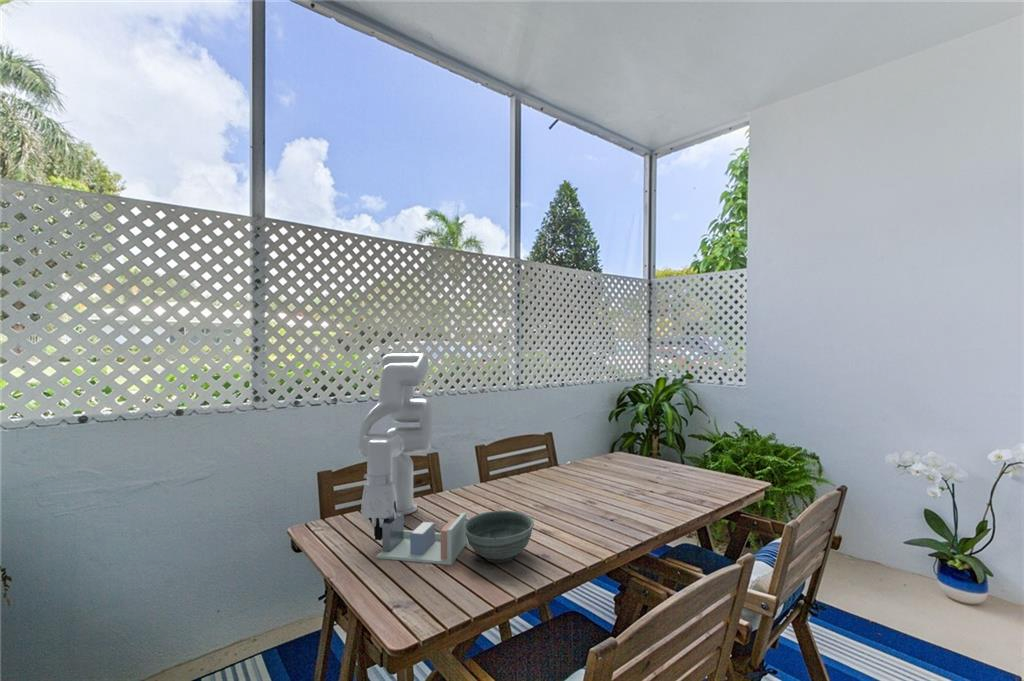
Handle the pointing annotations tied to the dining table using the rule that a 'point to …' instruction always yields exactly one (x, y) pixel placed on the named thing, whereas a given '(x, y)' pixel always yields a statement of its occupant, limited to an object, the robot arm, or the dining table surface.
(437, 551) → the mint u-shaped tray
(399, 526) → the bookend
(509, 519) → the bowl
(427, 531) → the book
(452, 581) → the dining table surface
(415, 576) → the dining table surface
